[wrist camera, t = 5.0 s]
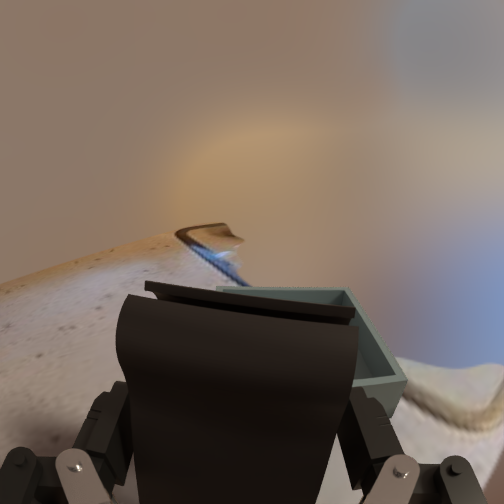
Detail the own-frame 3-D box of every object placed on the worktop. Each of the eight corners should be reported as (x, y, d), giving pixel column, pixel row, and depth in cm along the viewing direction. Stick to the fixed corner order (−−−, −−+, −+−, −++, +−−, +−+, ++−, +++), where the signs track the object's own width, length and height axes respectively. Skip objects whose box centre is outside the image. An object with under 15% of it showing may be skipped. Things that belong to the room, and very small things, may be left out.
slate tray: (203, 428, 17) (199, 390, 16) (217, 319, 29) (216, 286, 28) (391, 417, 17) (408, 379, 16) (343, 319, 30) (348, 287, 29)
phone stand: (208, 433, 17) (195, 241, 13) (307, 450, 15) (348, 256, 11) (150, 554, 8) (24, 380, 4) (281, 587, 7) (371, 477, 3)
